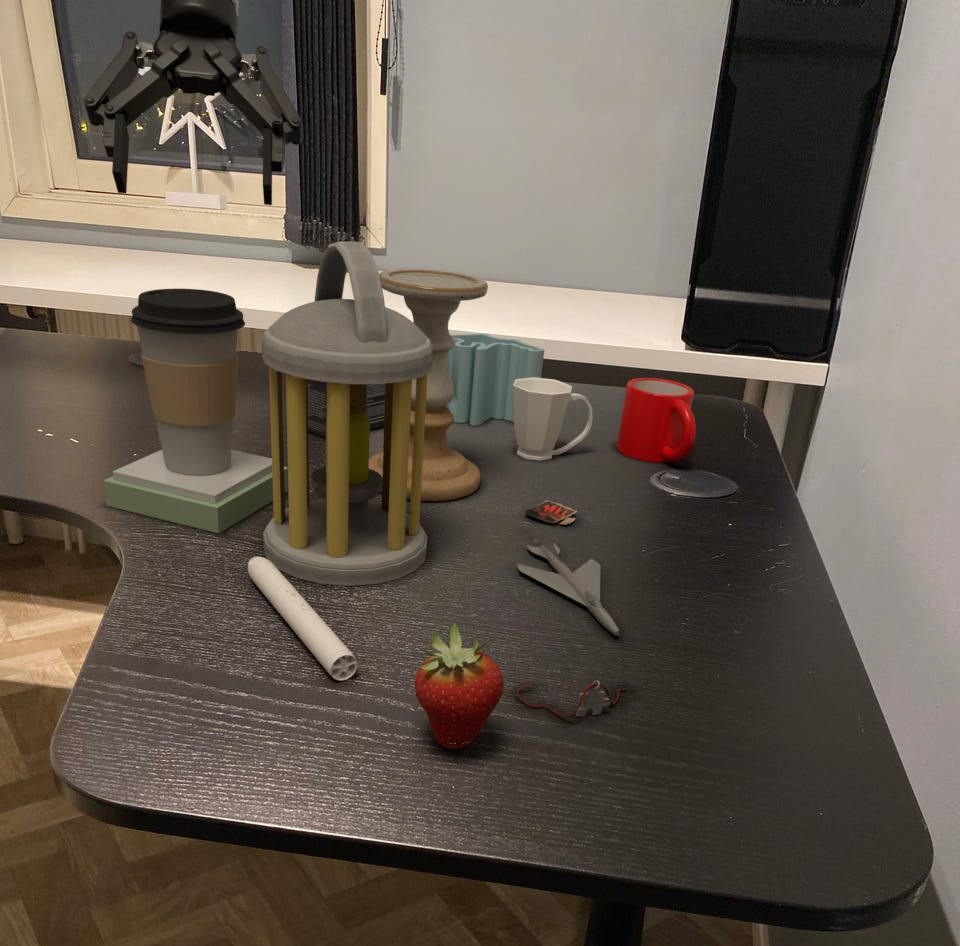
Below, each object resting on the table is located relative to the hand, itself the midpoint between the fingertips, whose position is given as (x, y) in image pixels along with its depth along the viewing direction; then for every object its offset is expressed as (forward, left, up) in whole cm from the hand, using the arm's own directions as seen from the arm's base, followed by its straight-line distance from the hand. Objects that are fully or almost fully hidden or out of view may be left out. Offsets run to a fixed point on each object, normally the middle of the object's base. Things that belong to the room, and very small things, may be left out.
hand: (194, 189), depth 87 cm
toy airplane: (+44, -12, -25) cm, 52 cm away
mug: (+45, +26, -25) cm, 58 cm away
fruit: (+44, -38, -25) cm, 63 cm away
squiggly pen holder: (+19, +26, -25) cm, 41 cm away
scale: (+8, -13, -25) cm, 30 cm away
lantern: (+25, -16, -25) cm, 39 cm away
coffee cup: (+8, -13, -22) cm, 27 cm away
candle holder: (+24, +3, -25) cm, 35 cm away
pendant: (+50, -30, -25) cm, 64 cm away
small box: (+9, +15, -25) cm, 31 cm away
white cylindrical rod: (+27, -29, -25) cm, 48 cm away
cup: (+33, +19, -25) cm, 46 cm away
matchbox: (+39, +1, -25) cm, 46 cm away
